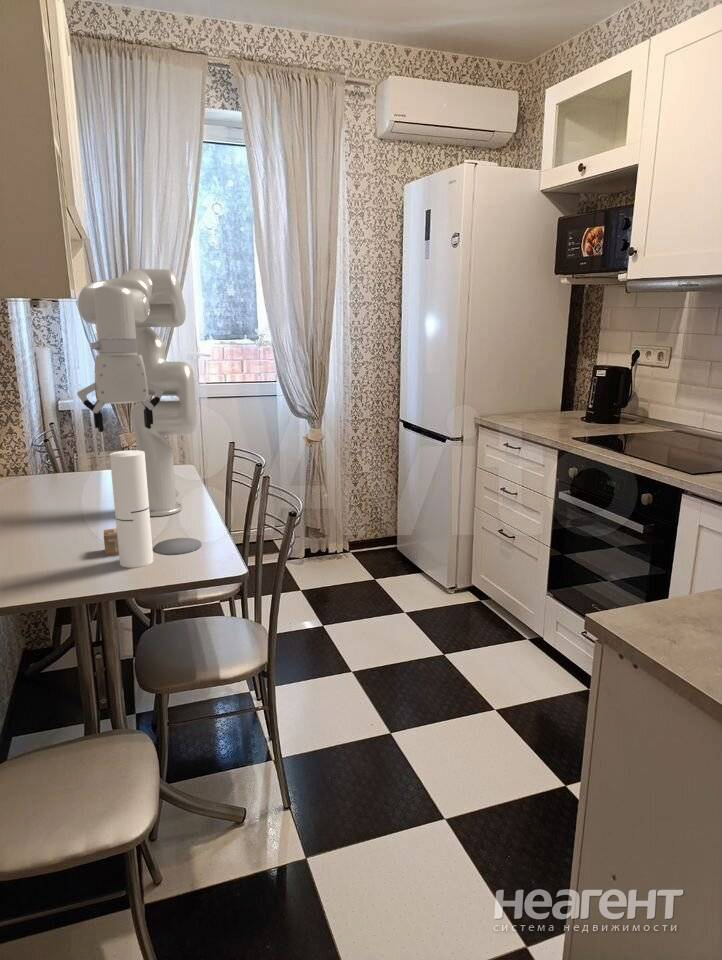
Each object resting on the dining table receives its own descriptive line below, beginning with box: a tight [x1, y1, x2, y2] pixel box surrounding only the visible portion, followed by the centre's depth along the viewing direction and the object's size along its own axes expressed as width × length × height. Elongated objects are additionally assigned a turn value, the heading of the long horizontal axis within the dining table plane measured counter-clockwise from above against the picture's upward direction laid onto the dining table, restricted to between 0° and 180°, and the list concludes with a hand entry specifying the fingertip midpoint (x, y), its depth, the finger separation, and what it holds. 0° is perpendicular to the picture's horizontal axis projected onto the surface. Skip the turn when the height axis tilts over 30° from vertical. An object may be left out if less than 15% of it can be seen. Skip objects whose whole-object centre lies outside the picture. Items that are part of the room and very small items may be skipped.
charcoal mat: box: [153, 537, 202, 556], centre depth 154 cm, size 11×11×1 cm
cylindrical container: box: [109, 449, 154, 569], centre depth 141 cm, size 7×7×25 cm
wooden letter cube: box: [103, 528, 119, 557], centre depth 150 cm, size 5×5×5 cm
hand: (124, 429), depth 137 cm, fingers open, 9 cm apart
